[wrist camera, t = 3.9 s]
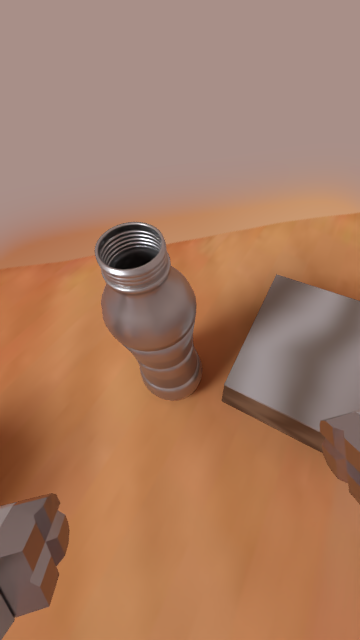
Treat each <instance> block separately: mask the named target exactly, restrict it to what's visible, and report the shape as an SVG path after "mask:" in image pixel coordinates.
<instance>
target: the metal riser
mask: <svg viewBox="0 0 360 640" xmlns="http://www.w3.org/2000/svg"><path fill="white" fill-rule="evenodd" d="M222 401H223V402H224V403H226V404H228V405H230V406H232V407H234V408H236V409H238V410H240V411H242V412H244V413H246V414H248V415H250V416H252V417H254V418H256V419H258V420H259V421H261V422H263V423H265V424H267V425H269V426H271V427H273V428H275V429H277V430H279V431H281V432H283V433H285V434H287V435H289V436H291V437H292V438H294V439H296V440H298V441H300V442H302V443H304V444H306V445H308V446H310V447H312V448H314V449H316V450H318V451H320V452H322V453H323V450H322V443H323V441H324V439H325V437H324V436H323V435H322V434H321V433H320V426H319V425H320V421H321V420H324V419H328V418H332V417H335V416H339V415H342V414H346V413H350V412H352V411H355V410H359V409H360V301H358V300H355V299H352V298H349V297H345V296H342V295H339V294H336V293H333V292H330V291H327V290H324V289H320V288H317V287H314V286H311V285H308V284H305V283H302V282H299V281H296V280H292V279H289V278H286V277H283V276H280V275H276V277H275V279H274V281H273V283H272V285H271V287H270V289H269V291H268V293H267V296H266V298H265V300H264V302H263V304H262V306H261V308H260V310H259V312H258V315H257V317H256V319H255V321H254V323H253V325H252V327H251V329H250V331H249V333H248V336H247V338H246V340H245V342H244V344H243V346H242V348H241V350H240V352H239V355H238V357H237V359H236V361H235V363H234V365H233V367H232V369H231V371H230V374H229V376H228V378H227V380H226V382H225V384H224V390H223V396H222Z"/></svg>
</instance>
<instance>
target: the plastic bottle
mask: <svg viewBox="0 0 360 640" xmlns="http://www.w3.org/2000/svg"><path fill="white" fill-rule="evenodd" d="M95 256H96V259H97V262H98V264H99V266H100V268H101V271H102V275H103V278H104V280H105V282H106V286H105V289H104V292H103V294H102V300H101V306H102V314H103V320H104V322H105V325H106V327H107V328H108V330H109V331H110V332H111V333H112V335H113V336H114V337H115V338H116V339H117V340H118V341H119V342H120V343H122V344H123V345H124V346H125V347H126V348H127V349H128V350H129V351H130V352H131V353H132V354H133V355H134V357H135V358H136V359H137V361H138V363H139V366H140V371H141V376H142V379H143V381H144V384H145V385H146V387H147V388H148V389H149V390H150V391H151V392H152V393H153V394H155V395H156V396H158V397H160V398H162V399H165V400H171V401H174V400H181V399H184V398H186V397H188V396H189V395H191V394H192V393H193V392H194V391H195V390H196V388H197V386H198V385H199V382H200V380H201V377H202V363H201V360H200V358H199V355H198V353H197V351H196V350H195V348H194V345H193V328H194V322H195V316H196V297H195V294H194V291H193V289H192V287H191V286H190V284H189V282H188V281H187V279H186V278H185V277H184V276H183V275H182V274H181V273H180V272H179V271H178V270H176V269H175V268H173V267H172V266H171V263H170V257H169V255H168V253H167V250H166V243H165V240H164V238H163V236H162V234H161V232H160V231H159V230H158V229H157V228H155V227H154V226H152V225H149V224H147V223H141V222H128V223H123V224H120V225H117V226H115V227H113V228H111V229H109V230H108V231H106V232H105V233H104V234H103V235H102V236H101V237H100V238H99V240H98V241H97V243H96V246H95Z"/></svg>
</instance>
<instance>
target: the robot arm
mask: <svg viewBox="0 0 360 640" xmlns="http://www.w3.org/2000/svg"><path fill="white" fill-rule="evenodd" d="M319 426H320V433H321V434H322V435H323V436H324V437H325V439H324V441H323V443H322V450H323V455H324V458H325V460H326V462H327V465H328V466H329V468H330V469H331V471H332V472H333V473H334V475H335V476H336V477H337V478H338V479H340V480H342V481H344V482H346V483H348V486H349V492H350V494H351V495H352V496H353V497H354V498H355V499H356V501H357V502H358V503H359V504H360V409H359V410H355V411H352V412H350V413H346V414H342V415H339V416H335V417H332V418H328V419H324V420H321V421H320V425H319ZM59 505H60V501H59V499H58V497H57V495H56V494H53V493H50V494H46V495H42V496H38V497H34V498H30V499H26V500H22V501H18V502H15V503H11V504H7V505H3V506H0V640H1V639H2V638H3V636H4V635H5V634H6V632H7V631H8V629H9V628H10V626H11V625H12V623H13V622H14V620H15V619H14V618H15V617H18V616H21V615H24V614H27V613H31V612H34V611H37V610H40V609H43V608H46V607H49V606H50V603H51V600H52V596H53V593H54V590H55V587H56V583H57V580H58V577H59V572H58V569H57V565H58V564H59V562H60V561H61V560H62V559H63V557H64V556H65V554H66V550H67V547H68V543H69V525H68V521H67V518H66V516H65V515H64V514H63V513H61V512H59V511H58V508H59Z"/></svg>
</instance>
